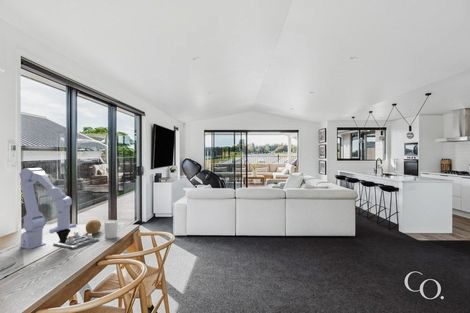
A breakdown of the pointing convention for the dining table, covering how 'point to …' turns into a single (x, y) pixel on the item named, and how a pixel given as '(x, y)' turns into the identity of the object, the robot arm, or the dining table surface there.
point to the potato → (93, 227)
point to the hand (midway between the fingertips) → (63, 242)
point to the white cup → (111, 228)
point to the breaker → (70, 239)
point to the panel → (77, 241)
